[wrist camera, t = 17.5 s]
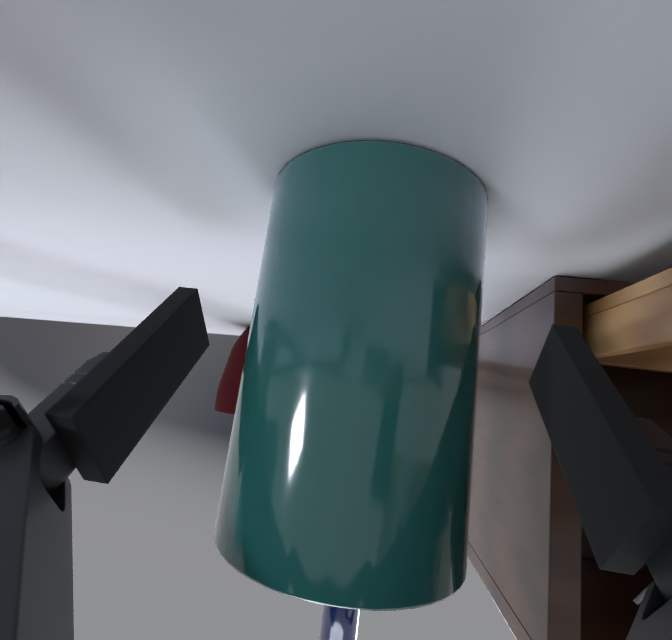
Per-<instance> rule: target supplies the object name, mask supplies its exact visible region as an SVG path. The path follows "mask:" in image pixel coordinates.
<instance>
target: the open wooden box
mask: <svg viewBox="0 0 672 640" xmlns="http://www.w3.org/2000/svg"><path fill="white" fill-rule="evenodd" d="M633 284H635V283H627V282H616V281H604V280H593V279H581V278H570V277H558V276H555V277H554V278H552V279H551V280H549V281H548V282H546V283H545V284H543V285H542V286H540V287H539V288H537V289H536V290H534V291H533V292H531V293H530V294H528V295H527V296H525V297H524V298H522V299H521V300H520V301H518V302H517V303H515V304H514V305H512V306H511V307H509V308H508V309H506V310H505V311H503V312H502V313H500V314H499V315H497V316H496V317H494V318H493V319H491V320H490V321H488V322H487V323H485V324H484V325H482V326H481V329H480V346H479V363H478V380H477V398H476V415H475V432H474V449H473V466H472V483H471V501H470V518H469V535H468V552H467V556H468V557H469V559H470V561H471V563H472V564H473V566H474V568H475V569H476V571H477V573H478V574H479V576H480V578H481V580H482V581H483V583H484V585H485V586H486V588H487V590H488V592H489V593H490V595H491V597H492V599H493V600H494V602H495V604H496V605H497V607H498V609H499V611H500V612H501V614H502V616H503V618H504V619H505V621H506V623H507V624H508V626H509V628H510V630H511V631H512V633H513V635H514V636H515V638H516V640H626V638H627V636H628V634H629V631H630V629H631V626H632V624H633V621H634V619H635V617H636V614H637V612H638V609H639V607H640V605H641V603H640V604H639V605H637V604H636V603H635V602H634V601H633V600H634V599H635V598H636V597H637V596H638V595H639V594H640V593H641V592H642V591H643V590H644V589H645V588H646V587H648V586H649V585H650V584H651V583H652V582H653V581H654V579H653V577H652V575H651V572H650V570H649V568H648V566H647V564H645V565H644V566H643V567H642V568H641V569H640V570H638V571H637V572H636V573H635V574H634V575H629V574H624V573H618V572H612V571H606V570H601V569H599V567H598V564H597V562H596V559H595V556H594V554H593V551H592V548H591V546H590V543H589V541H588V538H587V535H586V533H585V530H584V527H583V525H582V522H581V520H580V517H579V514H578V512H577V509H576V506H575V504H574V501H573V499H572V496H571V493H570V491H569V488H568V485H567V483H566V480H565V477H564V475H563V472H562V470H561V467H560V464H559V462H558V459H557V456H556V454H555V451H554V449H553V446H552V443H551V441H550V438H549V435H548V433H547V430H546V428H545V425H544V422H543V420H542V417H541V414H540V412H539V409H538V407H537V404H536V401H535V399H534V396H533V393H532V391H531V388H530V386H529V383H528V382H529V380H530V377H531V375H532V373H533V370H534V368H535V365H536V363H537V360H538V358H539V355H540V353H541V351H542V348H543V346H544V343H545V341H546V338H547V336H548V333H549V331H550V328H551V326H552V324H557V325H568V326H576V327H577V329H578V330H579V332H580V333H581V335H582V337H583V306H585V305H587V304H589V303H592V302H594V301H596V300H599V299H601V298H603V297H605V296H608V295H610V294H612V293H614V292H617V291H619V290H621V289H624V288H626V287H628V286H630V285H633ZM601 366H602V367H603V369H604V370H605V372H606V373H607V375H608V377H609V378H610V380H611V381H612V383H613V384H614V386H615V387H616V389H617V390H618V392H619V393H620V395H621V397H622V398H623V400H624V401H625V403H626V404H627V406H628V407H629V409H630V410H631V412H632V413H633V415H634V417H637V418H645V419H651V420H652V421H653V422H654V423H656V424H657V425H658V426H659V427H660V428H661V429H663V430H664V431H665V432H666V433H667V434H668V435H669V436H670V437H671V438H672V373H666V372H657V371H649V370H640V369H631V368H622V367H613V366H604V365H601Z"/></svg>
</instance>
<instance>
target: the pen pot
mask: <svg viewBox="0 0 672 640" xmlns="http://www.w3.org/2000/svg"><path fill="white" fill-rule="evenodd" d="M487 209H488V200H487V195H486V192H485V189H484V187H483V186H482V184H481V182H480V181H479V180H478V179H477V177H476V176H475V175H474V174H473V173H472V172H471V171H469V170H468V169H467V168H465V167H464V166H463V165H461V164H460V163H458V162H456V161H454V160H453V159H451V158H449V157H447V156H444V155H442V154H440V153H437V152H435V151H431V150H428V149H425V148H422V147H418V146H413V145H408V144H404V143H396V142H388V141H367V140H366V141H349V142H342V143H335V144H330V145H327V146H323V147H319V148H316V149H313V150H311V151H308V152H306V153H304V154H302V155H300V156H298V157H297V158H295V159H294V160H292V161H291V162H290V163H289V164H287V165H286V166H285V168H284V169H283V170H282V171H281V172H280V174H279V176H278V178H277V180H276V184H275V189H274V195H273V200H272V206H271V212H270V217H269V223H268V229H267V234H266V240H265V246H264V251H263V257H262V263H261V268H260V274H259V280H258V285H257V291H256V297H255V302H254V308H253V314H252V319H251V325H250V331H249V336H248V342H247V348H246V353H245V359H244V365H243V370H242V376H241V382H240V387H239V393H238V399H237V404H236V410H235V416H234V421H233V427H232V433H231V439H230V444H229V450H228V456H227V461H226V467H225V473H224V479H223V484H222V490H221V496H220V501H219V507H218V512H217V518H216V524H215V529H214V540H215V545H216V548H217V550H218V551H219V553H220V555H221V556H222V557H223V558H224V560H225V561H226V562H227V563H228V564H230V565H231V566H232V567H233V568H234V569H235V570H237V571H238V572H240V573H241V574H243V575H244V576H246V577H247V578H249V579H251V580H253V581H255V582H257V583H259V584H261V585H263V586H265V587H267V588H269V589H272V590H275V591H277V592H280V593H282V594H285V595H288V596H292V597H295V598H298V599H302V600H305V601H309V602H313V603H318V604H323V611H322V619H321V627H320V635H319V640H356V639H357V629H358V620H359V610H372V611H392V610H394V611H395V610H405V609H414V608H419V607H423V606H428V605H432V604H435V603H437V602H440V601H443V600H444V599H447V598H448V597H450V596H452V595H453V594H455V592H457V591H458V590H459V589H460V587H461V586H462V584H463V582H464V580H465V577H466V568H467V552H468V535H469V518H470V501H471V483H472V466H473V449H474V432H475V415H476V398H477V380H478V363H479V346H480V329H481V312H482V294H483V277H484V260H485V243H486V226H487Z"/></svg>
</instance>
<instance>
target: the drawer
mask: <svg viewBox="0 0 672 640" xmlns="http://www.w3.org/2000/svg"><path fill="white" fill-rule="evenodd" d="M583 338H584V340H585V341H586V343H587V344H588V346H589V347H590V349H591V350H592V352H593V353H594V355H595V357H596V358H597V360H598V361H599V363H600V364H601V365H604V366H613V367H622V368H631V369H640V370H649V371H657V372H666V373H672V267H671V268H669V269H667V270H664V271H662V272H660V273H658V274H655V275H653V276H651V277H649V278H646V279H644V280H642V281H639V282H637V283H635V284H633V285H630V286H628V287H626V288H624V289H621V290H619V291H617V292H614V293H612V294H610V295H608V296H605V297H603V298H601V299H599V300H596V301H594V302H592V303H589V304H587V305H585V306H583Z"/></svg>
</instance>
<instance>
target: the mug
mask: <svg viewBox="0 0 672 640" xmlns="http://www.w3.org/2000/svg"><path fill="white" fill-rule="evenodd" d="M249 331H250V327H247V328H246V329H245V331H244V332H243V333H242V335H241V336H240V337H239V339H238V340H237V341H236V343H235V345H234V346H233V348H232V350H231V353H230V356H229V359H228V362H227V364H226V367H225V370H224V372H223V375H222V378H221V381H220V384H219V387H218V391H217V396H216V402H215V410H217V411H220V412H224V413H229V414H235V410H236V404H237V399H238V393H239V387H240V382H241V376H242V370H243V365H244V359H245V353H246V348H247V342H248V336H249Z"/></svg>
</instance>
